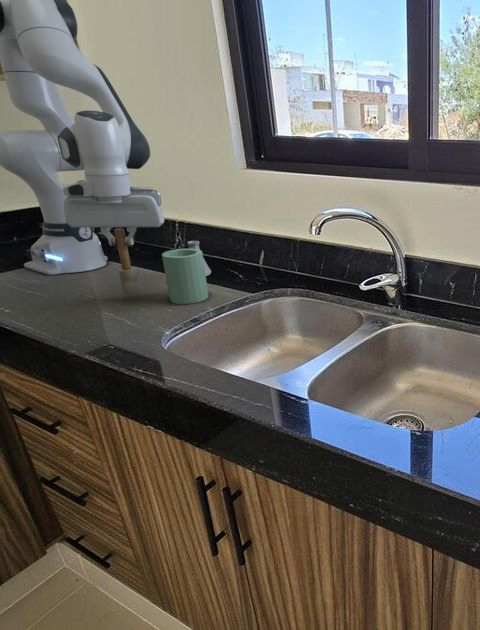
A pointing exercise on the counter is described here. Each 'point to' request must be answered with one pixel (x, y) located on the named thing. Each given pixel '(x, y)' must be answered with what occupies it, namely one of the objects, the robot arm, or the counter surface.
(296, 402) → the counter surface
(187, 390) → the counter surface
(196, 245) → the flask
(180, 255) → the jar
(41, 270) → the robot arm
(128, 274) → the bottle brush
